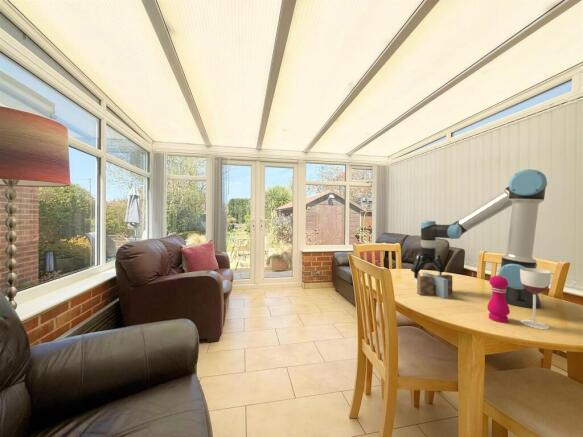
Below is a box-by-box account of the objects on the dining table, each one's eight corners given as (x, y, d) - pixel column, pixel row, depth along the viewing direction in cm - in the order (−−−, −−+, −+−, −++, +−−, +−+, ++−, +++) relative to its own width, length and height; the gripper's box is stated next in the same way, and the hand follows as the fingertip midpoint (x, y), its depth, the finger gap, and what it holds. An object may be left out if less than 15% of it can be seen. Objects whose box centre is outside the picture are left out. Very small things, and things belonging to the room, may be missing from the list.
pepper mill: (500, 316, 105) (501, 270, 105) (514, 323, 98) (515, 275, 98) (483, 315, 106) (483, 270, 105) (495, 323, 99) (495, 274, 98)
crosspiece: (447, 298, 128) (448, 279, 127) (443, 298, 127) (443, 279, 127) (426, 289, 143) (426, 272, 143) (422, 289, 143) (422, 272, 143)
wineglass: (522, 326, 96) (523, 271, 95) (516, 317, 104) (517, 266, 103) (553, 331, 91) (554, 274, 91) (545, 322, 99) (546, 269, 99)
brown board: (448, 291, 138) (448, 274, 138) (452, 293, 135) (452, 275, 135) (417, 293, 135) (417, 276, 135) (420, 295, 132) (420, 277, 132)
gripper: (442, 245, 146) (441, 280, 146) (404, 246, 142) (404, 282, 142) (452, 247, 138) (451, 284, 139) (412, 248, 135) (412, 286, 135)
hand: (427, 283), depth 141 cm, fingers open, 13 cm apart
